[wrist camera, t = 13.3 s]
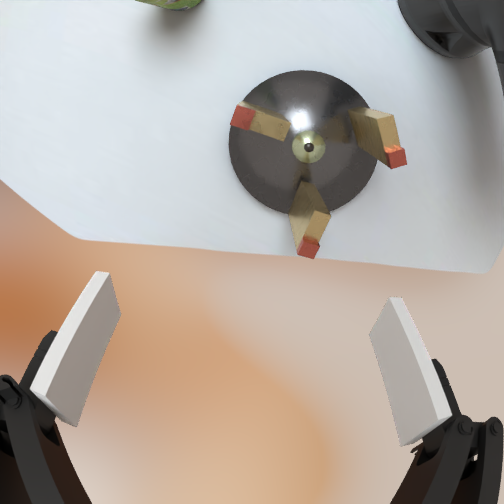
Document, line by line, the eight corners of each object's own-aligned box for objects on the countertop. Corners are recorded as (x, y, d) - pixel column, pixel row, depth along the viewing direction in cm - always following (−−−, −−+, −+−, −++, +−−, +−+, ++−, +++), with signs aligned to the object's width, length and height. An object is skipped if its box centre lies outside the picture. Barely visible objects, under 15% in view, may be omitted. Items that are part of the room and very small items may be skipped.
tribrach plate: (349, 56, 26) (356, 54, 24) (385, 186, 36) (393, 194, 34) (206, 102, 31) (202, 103, 28) (262, 226, 40) (262, 237, 38)
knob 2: (301, 180, 34) (316, 214, 26) (314, 184, 34) (333, 219, 26) (288, 212, 36) (297, 254, 28) (300, 216, 37) (313, 259, 28)
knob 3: (347, 109, 29) (380, 120, 20) (360, 106, 28) (397, 116, 20) (357, 145, 31) (391, 169, 23) (370, 142, 31) (407, 164, 22)
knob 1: (282, 114, 29) (292, 124, 21) (276, 127, 30) (284, 143, 22) (242, 100, 28) (236, 104, 20) (237, 114, 29) (229, 124, 21)
